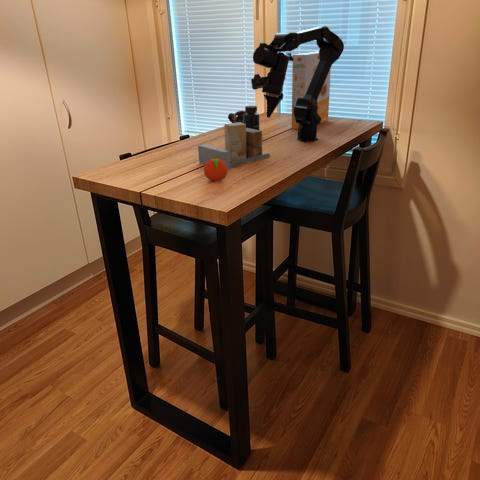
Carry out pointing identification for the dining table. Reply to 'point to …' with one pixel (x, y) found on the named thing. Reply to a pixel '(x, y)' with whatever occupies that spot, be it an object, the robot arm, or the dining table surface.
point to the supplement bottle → (251, 118)
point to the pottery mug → (235, 119)
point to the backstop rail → (223, 156)
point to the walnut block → (253, 142)
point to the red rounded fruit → (215, 169)
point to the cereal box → (301, 80)
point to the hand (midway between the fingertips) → (268, 117)
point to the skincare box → (236, 141)
